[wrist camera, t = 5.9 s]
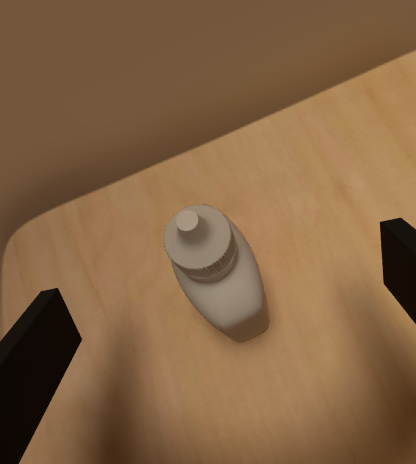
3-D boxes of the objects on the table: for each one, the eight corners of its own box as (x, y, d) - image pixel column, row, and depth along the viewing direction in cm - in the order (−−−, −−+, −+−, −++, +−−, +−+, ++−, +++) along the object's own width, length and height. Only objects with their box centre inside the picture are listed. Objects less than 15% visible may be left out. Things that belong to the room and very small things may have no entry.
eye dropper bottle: (269, 250, 23) (259, 138, 12) (269, 344, 21) (257, 315, 10) (201, 250, 24) (132, 146, 13) (195, 340, 22) (107, 309, 11)
